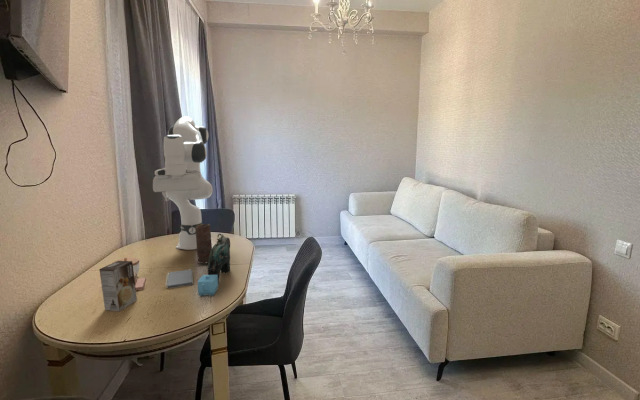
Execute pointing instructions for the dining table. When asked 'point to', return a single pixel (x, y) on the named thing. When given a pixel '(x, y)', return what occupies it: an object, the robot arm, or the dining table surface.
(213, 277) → the teapot
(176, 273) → the grey ring notebook
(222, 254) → the teal spotted shape
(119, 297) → the coffee box
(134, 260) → the lidded jar
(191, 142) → the robot arm
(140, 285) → the light switch
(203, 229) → the candle
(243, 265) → the dining table surface
